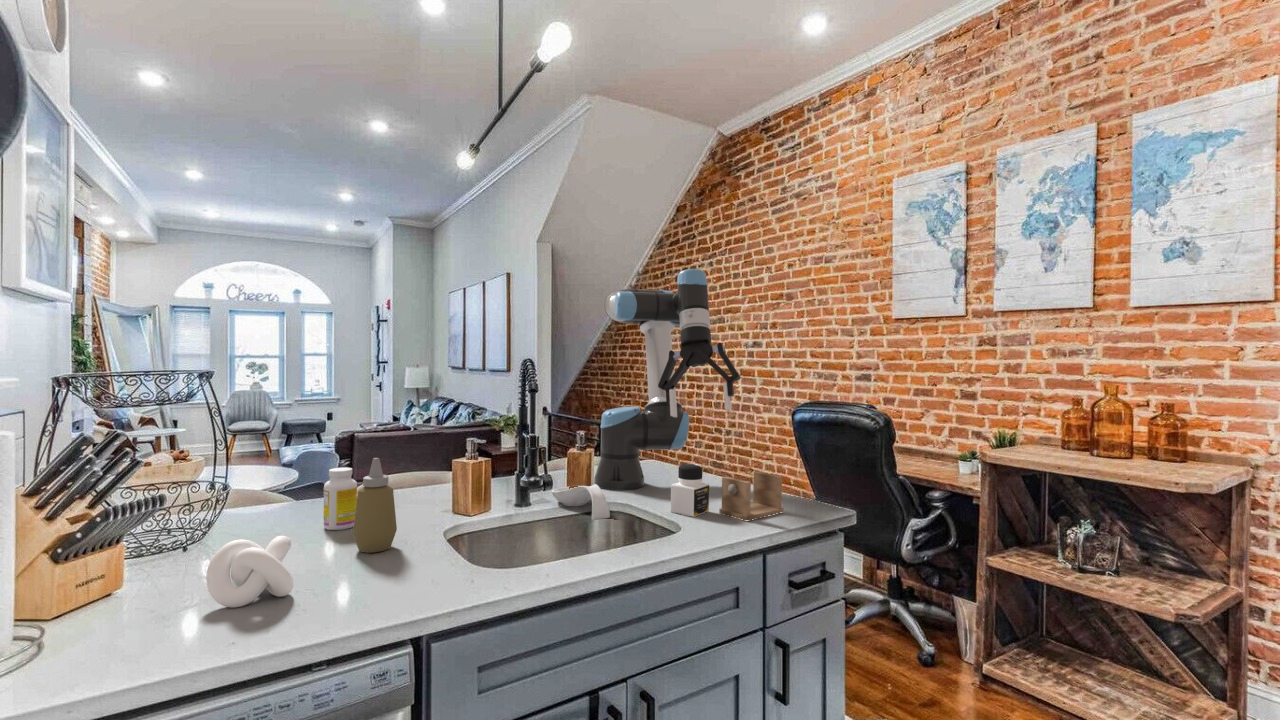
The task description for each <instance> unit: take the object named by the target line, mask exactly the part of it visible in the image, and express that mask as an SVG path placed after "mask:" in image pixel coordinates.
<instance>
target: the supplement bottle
mask: <svg viewBox="0 0 1280 720" xmlns="http://www.w3.org/2000/svg"><path fill="white" fill-rule="evenodd" d="M328 476H329V480H327V481H326V482H325V483H324V486H323V527H324V529H325V530H328V531H341V530H349V529H351V528H354V520H355V512H356V503H357V495H358V482H357V480H355V479H354V478H352V476H353V468H352V467H334V468H330V469H329V470H328Z"/></svg>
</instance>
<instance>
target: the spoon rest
mask: <svg viewBox="0 0 1280 720" xmlns="http://www.w3.org/2000/svg"><path fill="white" fill-rule="evenodd" d="M577 486H578V487H574V488H570V489H569V487H570V486H563V487H557V488H553V489H552V490H551V494H552V496H553V498H555V499H556V500H557V501H558V502H559V503H561V504H562V505H563V506H568V507H580V506H584V505H586V504H588V503H589V502H590V501H591V520H592V521H596V520H604V519H609V518H611V512H610V506H609V504H608V501H607V499H606V496H605V494H604V492H603V490H602V488H600V487H599V486H598V485H596V484H592V485H590V486H588V485H577Z"/></svg>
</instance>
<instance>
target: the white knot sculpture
mask: <svg viewBox="0 0 1280 720" xmlns="http://www.w3.org/2000/svg"><path fill="white" fill-rule="evenodd" d="M291 547H292V540H291V538H289V537H288V536H285V535H277V536H276V537H274V538H273V539H271V540H270V542H269V544H268V545H267V546H266V547H265V548H263V547H262V546H261V545H259V544H257V543H256V542H254V541H252V540H248V539H235V540H232V541H229V542H227V543H225V544H224V545H223V546H221V547H220V548H218V550H217V551H216V552H215V553H214V555H213V556H212V557H211V559H210V561H209V564H208V566H207V570H206V577H205V581H206V588H207V591H208V592H209V594H210V596H211V598H212V599H213V601H215V602H216V603H217V604H219V605H221V606H223V607H227V608H230V609H231V608H241V607H244V606H246V605H248V604H250V603H252V602H253V601H255V600H256V599H257V598H258V597H259V596H260V595H261V594H262V593H263V591H264V590H265V589H266V590H267V592H269V594H271V596H275V597H277V598H281V597H287V595H289V594H291V592H292V590H293V588H294V578H293V576H292V575H291V573H290V571H289V570H288V569H287V567H286V566H285V565H284V564H283V561H284V559H285V558H286V556H287V554H288V553H289V551H290V549H291Z"/></svg>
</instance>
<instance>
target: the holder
mask: <svg viewBox="0 0 1280 720" xmlns="http://www.w3.org/2000/svg"><path fill="white" fill-rule="evenodd" d="M751 484H752V482H751V481H747V480H743V479H738V478H734V477H729V476H723V477H721V508H719V510H718V513H722V514H725V515H724V516H726V515H729V516H733V517H736V518H740V519H743V520H752V519H755V518H760V517H764V516H768V515H773V514H776V513H780V512H785V511H784V507H782V501H783V500H782V498H783V495H782V494H783V476H782V475H781V476H780V475H777V474H772V473H767V472H763V471H753V489H751V487H752V485H751ZM751 490H753V491H752V492H753V494H752V493H751ZM751 494H752V495H753V496H752V501H751ZM722 514H721V515H722ZM729 516H728V517H729ZM773 516H774V515H773ZM736 518H735V519H736ZM752 521H753V520H752Z"/></svg>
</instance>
